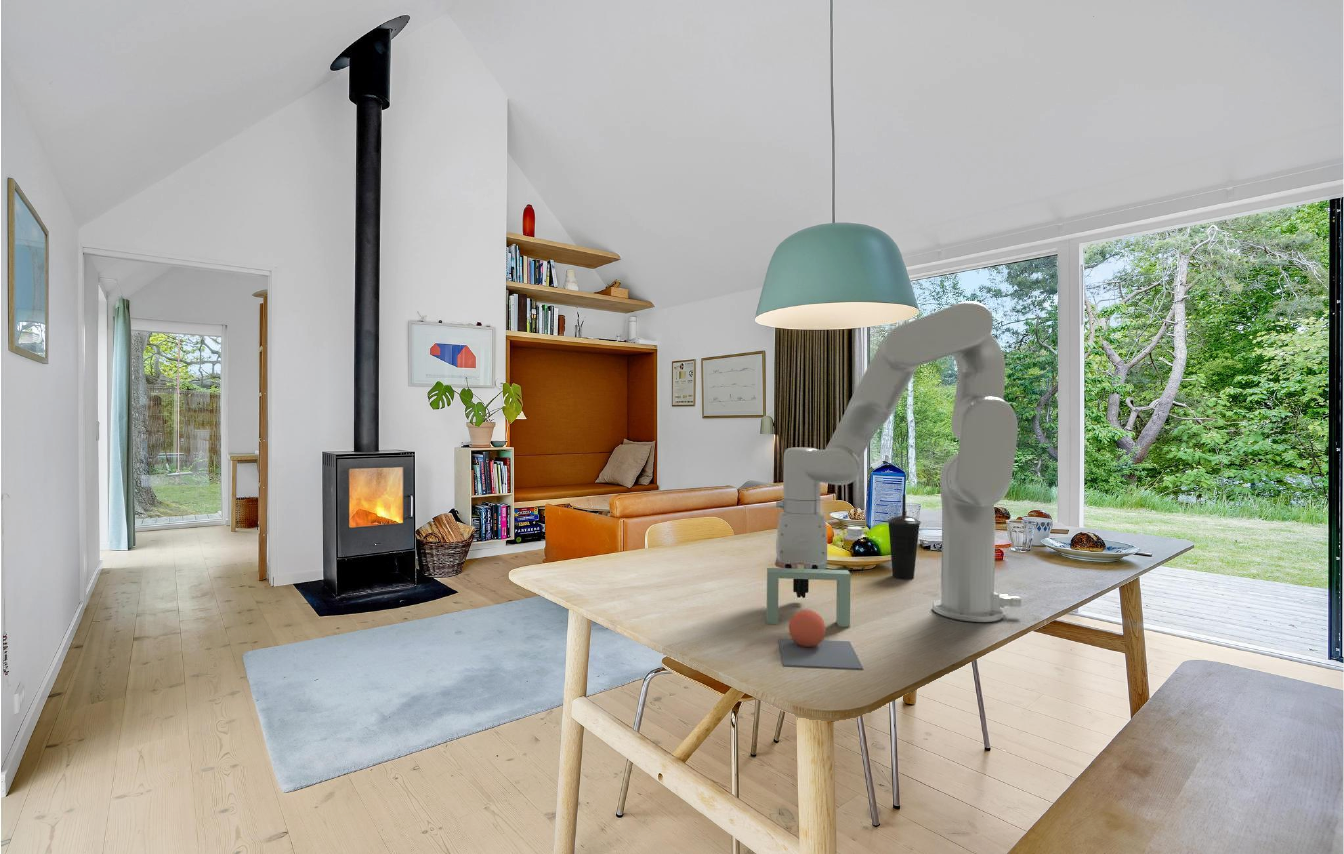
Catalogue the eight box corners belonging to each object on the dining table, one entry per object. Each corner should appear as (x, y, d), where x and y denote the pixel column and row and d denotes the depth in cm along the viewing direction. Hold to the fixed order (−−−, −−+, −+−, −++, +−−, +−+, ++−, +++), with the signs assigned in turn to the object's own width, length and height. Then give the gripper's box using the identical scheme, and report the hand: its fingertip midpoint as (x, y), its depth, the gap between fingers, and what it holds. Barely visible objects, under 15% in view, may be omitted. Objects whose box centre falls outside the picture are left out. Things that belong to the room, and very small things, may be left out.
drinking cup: (923, 575, 158) (924, 494, 157) (916, 582, 151) (917, 497, 151) (890, 571, 162) (891, 492, 161) (883, 577, 155) (883, 494, 155)
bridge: (766, 618, 123) (767, 567, 122) (847, 621, 121) (847, 570, 121) (767, 623, 120) (767, 571, 119) (850, 626, 118) (850, 573, 118)
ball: (826, 614, 104) (824, 652, 104) (826, 609, 110) (824, 645, 110) (788, 610, 106) (786, 647, 105) (790, 605, 112) (788, 641, 111)
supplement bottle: (855, 570, 162) (855, 530, 162) (838, 566, 167) (839, 527, 167) (870, 568, 166) (870, 528, 165) (853, 563, 170) (853, 525, 170)
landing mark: (849, 642, 110) (849, 641, 110) (863, 669, 98) (863, 668, 98) (778, 639, 111) (778, 638, 111) (783, 665, 99) (783, 664, 99)
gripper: (765, 509, 130) (765, 599, 130) (841, 510, 129) (840, 602, 129) (764, 504, 138) (763, 590, 138) (835, 505, 136) (834, 592, 136)
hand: (800, 595), depth 133 cm, fingers closed
